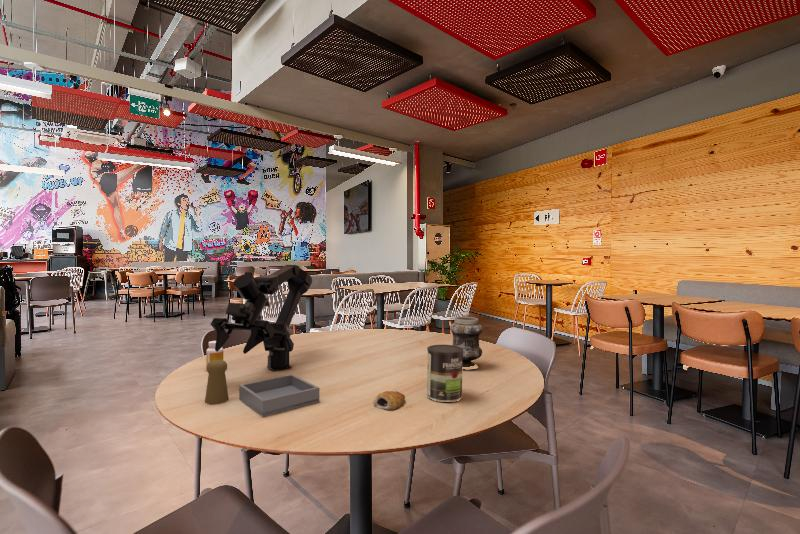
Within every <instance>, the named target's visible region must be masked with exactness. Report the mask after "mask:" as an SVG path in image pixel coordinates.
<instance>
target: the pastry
mask: <svg viewBox="0 0 800 534" xmlns="http://www.w3.org/2000/svg"><path fill="white" fill-rule="evenodd" d="M405 400H406V395H405V394H404V393H402V392H399V391H396V390H395V391H394V390H393V391H391V390H390V391H387V390H385V391H382V392H380V393H378V394H377V395H376V397H375V398H374V400H373V401H372V403H373V405H374V407H376V408H377V409H383V410H386V411H390V410H391V411H393V410H396V409H397V408H400V407H401V406H402V405H403V404H404V403H405Z"/></svg>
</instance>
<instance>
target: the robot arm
mask: <svg viewBox="0 0 800 534" xmlns="http://www.w3.org/2000/svg"><path fill="white" fill-rule="evenodd" d="M285 282H287V287H288V293H287V294H286V297H285V300H284V302H283V305H282V306H281V309H280V311H279V314H278V316H277V318H276V321H275V322H274V323H272V322H269V320H268V319H267V320H263V319H262V315H261V314H262V312H263V310H264V308H265V307H270V302H269V298H268V297H267V296H269V295H271V296H272V295H273V296H274V294H276V293H277V292H278V290H279V289H280V285H282V284H284V283H285ZM312 283H313V278H312V276H311V275H310V274H309V273H308V272H307V271H306V270H304V269H302V268H301V267H300V266H299V265H297V264H286V265H284V266H283V267H281V268H280V269H278V270H276V271H274V272H272V273H271V274H267V275H259V276H256V277H254V274H253V273H252V271H245V272H244V274H241V275H239V276H238V277H236V278H234V280H233V286H234V288H235V289H236V291H237V292H238V293H239V295H240V297H241V298H242V299H243V300H246V301H245V303H239V302H228V303H227V307H226V311H225V314H226V315H229V316H231V320H232V321H234V322H230V321H229V320H228V318H227V317H214V318H213V319H212V321H211V322H210V326H211V327H212V328H213V330H215V332H216V338H215V339H216V340H215V341H216V345H215V350H216V351H217V352H218V351H219V350H220V349H221V347H222V348H223V347H224V345H225V343H226V342H227V341H228V339H230V335H231V334H232V332H233V330H234V331H243V332H250V335H249V337H248V339H247V342H246V344H245V345H244V347H243V350H242V352H243V354H244V355H246V354H247V353H249V352H250V351H251V350H253V349H254V348H255V347H256V346H259V344H261V343H262V342H263V347H264V350H265V352H268V355H267V365H266V367H267V368H268V369H270V370H271V371H274V372H275V371H282V370H287V369H291V368H292V366H291V365H290V352H293V350H294V346H295V344H294V341H293V340H292V338H291V331H290V325H291V323H292V321H293V318H294V315H295V312H296V311H297V308H298V305H299V303H300V300H301V298H302V296H303V295H304V294H306V293H307V292H308V291H309V289H310V287H311V285H312ZM266 295H267V296H266Z"/></svg>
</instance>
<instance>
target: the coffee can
mask: <svg viewBox="0 0 800 534" xmlns="http://www.w3.org/2000/svg"><path fill="white" fill-rule="evenodd" d="M462 364H463V348H461V347H458V346H454V345H453V344H434V345H432V344H431V345H429V346H427V371H426V372H427V373H426V375H427V376H426V378H427V379H426V380H427V381H426V383H427V384H426V398H428V399H429V398H430V399H432V400H431V401H433V400H434V401H433V402H436V401H438V402H437V403H442V402H452V403H455V402H454V401H457V400H459V399H460V398H461V397H462V398H463V370H462ZM430 399H429V400H430ZM457 402H458V401H457Z"/></svg>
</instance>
